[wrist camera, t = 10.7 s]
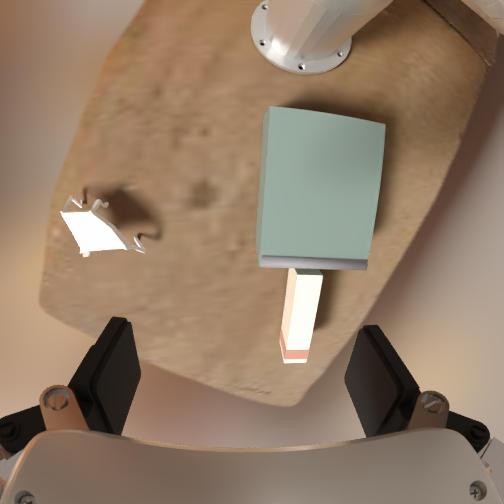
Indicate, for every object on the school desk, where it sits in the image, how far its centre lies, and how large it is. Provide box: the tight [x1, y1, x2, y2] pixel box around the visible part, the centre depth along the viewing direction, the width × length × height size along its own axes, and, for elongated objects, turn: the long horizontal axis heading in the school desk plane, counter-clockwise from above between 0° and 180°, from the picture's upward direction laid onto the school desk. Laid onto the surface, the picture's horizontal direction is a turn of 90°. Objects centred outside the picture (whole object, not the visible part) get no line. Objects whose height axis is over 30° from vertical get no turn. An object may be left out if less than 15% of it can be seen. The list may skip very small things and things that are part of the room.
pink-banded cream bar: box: [280, 268, 323, 363], centre depth 37 cm, size 13×3×5 cm, turn 176°
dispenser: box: [255, 106, 386, 270], centre depth 31 cm, size 16×12×8 cm
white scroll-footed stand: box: [60, 195, 146, 257], centre depth 33 cm, size 12×8×5 cm
